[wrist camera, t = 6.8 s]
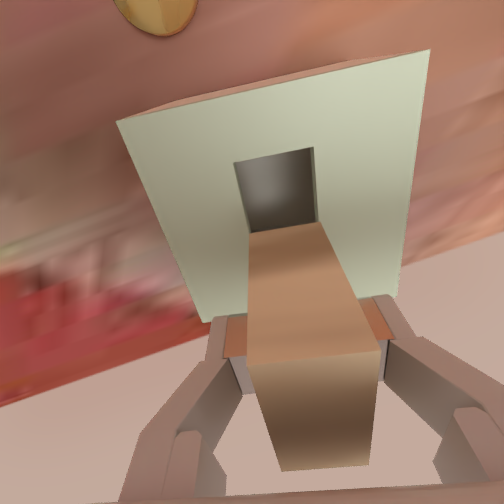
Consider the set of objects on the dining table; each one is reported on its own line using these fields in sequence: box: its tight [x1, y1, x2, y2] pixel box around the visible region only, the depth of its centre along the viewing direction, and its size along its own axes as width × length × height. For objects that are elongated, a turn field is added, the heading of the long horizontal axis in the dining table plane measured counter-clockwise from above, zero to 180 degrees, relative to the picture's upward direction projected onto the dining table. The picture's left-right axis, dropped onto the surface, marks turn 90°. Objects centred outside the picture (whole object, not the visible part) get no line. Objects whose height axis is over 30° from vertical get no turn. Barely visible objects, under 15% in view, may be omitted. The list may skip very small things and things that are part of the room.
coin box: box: [116, 49, 430, 323], centre depth 18 cm, size 12×12×10 cm
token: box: [247, 222, 381, 472], centre depth 8 cm, size 5×2×5 cm, turn 11°
